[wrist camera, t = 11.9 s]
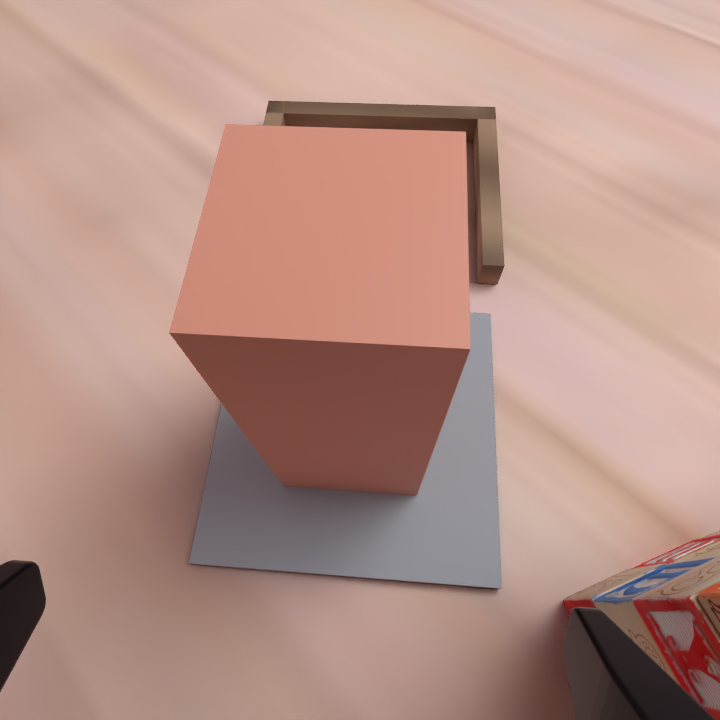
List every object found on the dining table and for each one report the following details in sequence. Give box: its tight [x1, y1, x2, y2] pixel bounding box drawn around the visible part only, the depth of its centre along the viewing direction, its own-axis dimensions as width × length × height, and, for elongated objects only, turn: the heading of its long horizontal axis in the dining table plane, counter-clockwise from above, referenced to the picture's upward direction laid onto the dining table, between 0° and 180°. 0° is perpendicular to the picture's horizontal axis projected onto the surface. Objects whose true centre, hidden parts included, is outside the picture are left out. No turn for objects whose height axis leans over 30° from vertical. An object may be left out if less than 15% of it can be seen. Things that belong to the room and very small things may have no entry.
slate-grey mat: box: [189, 313, 502, 589], centre depth 22 cm, size 12×12×1 cm
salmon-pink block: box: [169, 124, 470, 495], centre depth 16 cm, size 6×6×13 cm
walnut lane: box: [264, 101, 504, 284], centre depth 28 cm, size 11×13×2 cm
